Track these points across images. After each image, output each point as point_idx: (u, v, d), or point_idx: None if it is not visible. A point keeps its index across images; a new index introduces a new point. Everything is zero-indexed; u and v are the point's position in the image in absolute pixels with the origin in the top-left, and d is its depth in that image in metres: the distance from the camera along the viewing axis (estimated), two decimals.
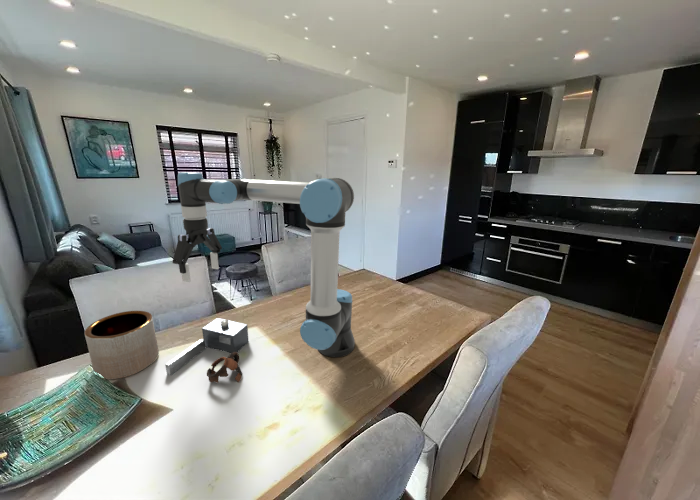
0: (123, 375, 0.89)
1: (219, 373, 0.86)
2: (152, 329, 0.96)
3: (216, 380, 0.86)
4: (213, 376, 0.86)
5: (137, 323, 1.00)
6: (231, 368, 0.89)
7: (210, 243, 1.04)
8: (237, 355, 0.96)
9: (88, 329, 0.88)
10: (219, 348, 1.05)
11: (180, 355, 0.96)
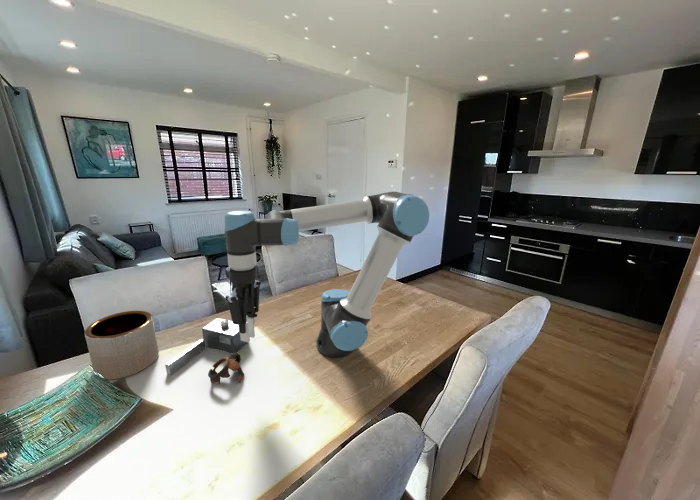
0: (123, 375, 0.89)
1: (221, 374, 0.86)
2: (152, 329, 0.96)
3: (218, 381, 0.86)
4: (215, 377, 0.86)
5: (137, 323, 1.00)
6: (233, 369, 0.88)
7: (252, 300, 0.83)
8: (239, 356, 0.96)
9: (88, 329, 0.88)
10: (219, 348, 1.05)
11: (180, 355, 0.96)
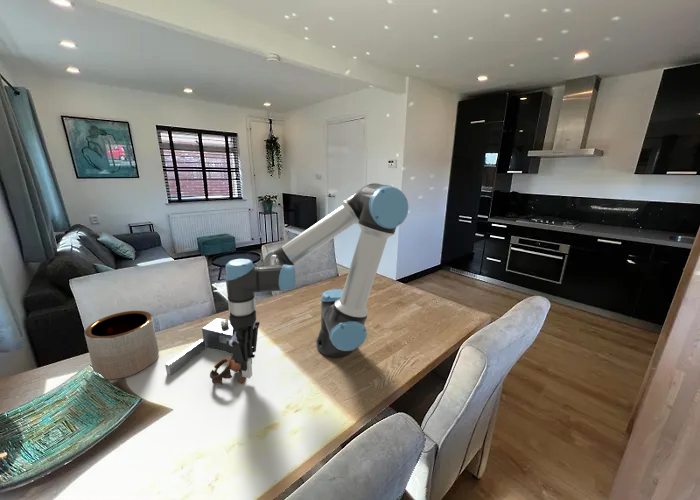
0: (123, 375, 0.89)
1: (223, 375, 0.86)
2: (152, 329, 0.96)
3: (220, 382, 0.85)
4: (217, 378, 0.85)
5: (137, 323, 1.00)
6: (235, 369, 0.88)
7: (250, 341, 0.87)
8: None
9: (88, 329, 0.88)
10: (219, 348, 1.05)
11: (180, 355, 0.96)
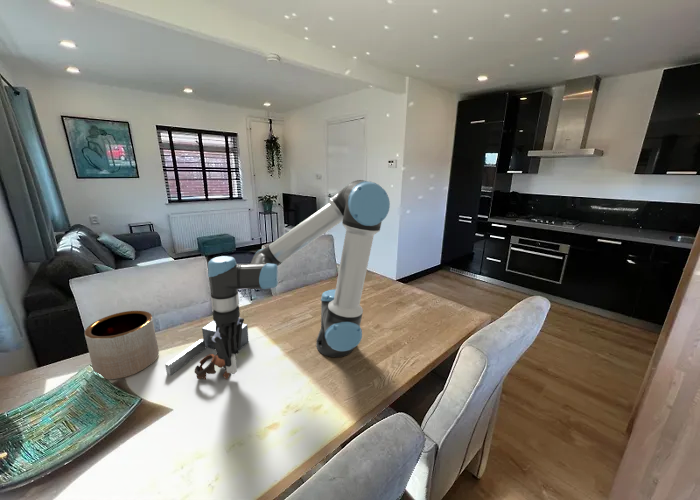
0: (123, 375, 0.89)
1: (207, 370, 0.87)
2: (152, 329, 0.96)
3: (204, 377, 0.87)
4: (201, 373, 0.87)
5: (137, 323, 1.00)
6: (219, 365, 0.90)
7: (234, 338, 0.89)
8: None
9: (88, 329, 0.88)
10: None
11: (180, 355, 0.96)
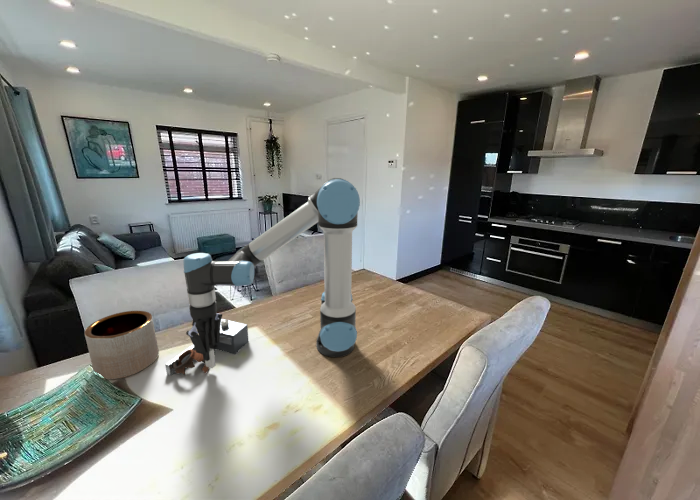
0: (123, 375, 0.89)
1: (185, 364, 0.89)
2: (152, 329, 0.96)
3: (182, 371, 0.89)
4: (179, 367, 0.89)
5: (137, 323, 1.00)
6: (198, 359, 0.92)
7: (212, 332, 0.91)
8: None
9: (88, 329, 0.88)
10: (219, 348, 1.05)
11: None
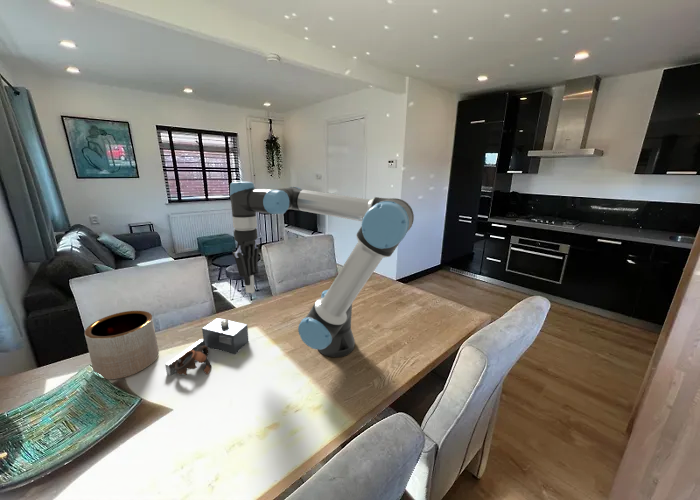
0: (123, 375, 0.89)
1: (187, 365, 0.89)
2: (152, 329, 0.96)
3: (184, 372, 0.89)
4: (181, 368, 0.89)
5: (137, 323, 1.00)
6: (199, 360, 0.91)
7: (252, 259, 0.99)
8: (206, 348, 0.99)
9: (88, 329, 0.88)
10: (219, 348, 1.05)
11: (180, 355, 0.96)
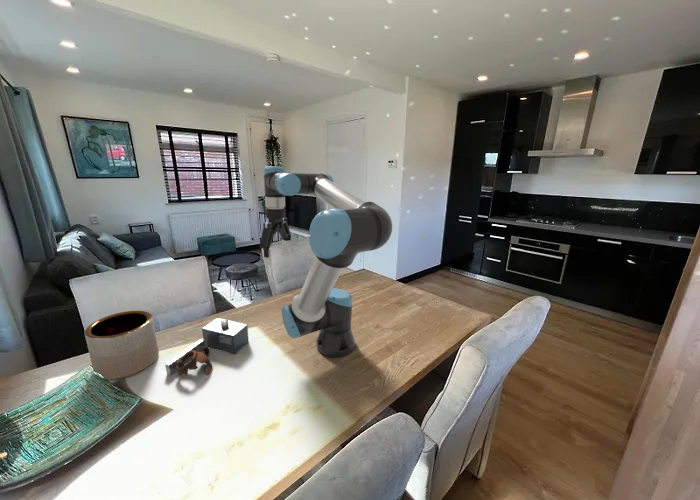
0: (123, 375, 0.89)
1: (188, 366, 0.89)
2: (152, 329, 0.96)
3: (185, 373, 0.89)
4: (182, 369, 0.88)
5: (137, 323, 1.00)
6: (200, 361, 0.91)
7: (284, 231, 1.15)
8: (207, 349, 0.98)
9: (88, 329, 0.88)
10: (219, 348, 1.05)
11: (180, 355, 0.96)
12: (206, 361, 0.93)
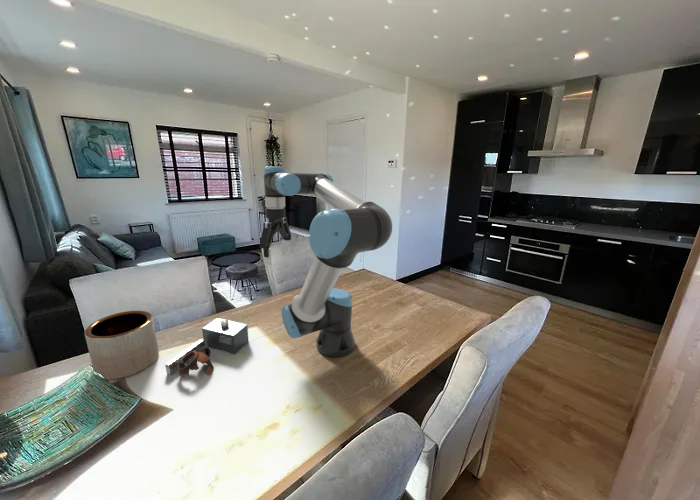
0: (123, 375, 0.89)
1: (189, 366, 0.89)
2: (152, 329, 0.96)
3: (186, 373, 0.88)
4: (183, 369, 0.88)
5: (137, 323, 1.00)
6: (202, 361, 0.91)
7: (284, 231, 1.15)
8: (208, 349, 0.98)
9: (88, 329, 0.88)
10: (219, 348, 1.05)
11: (180, 355, 0.96)
12: (207, 361, 0.93)
